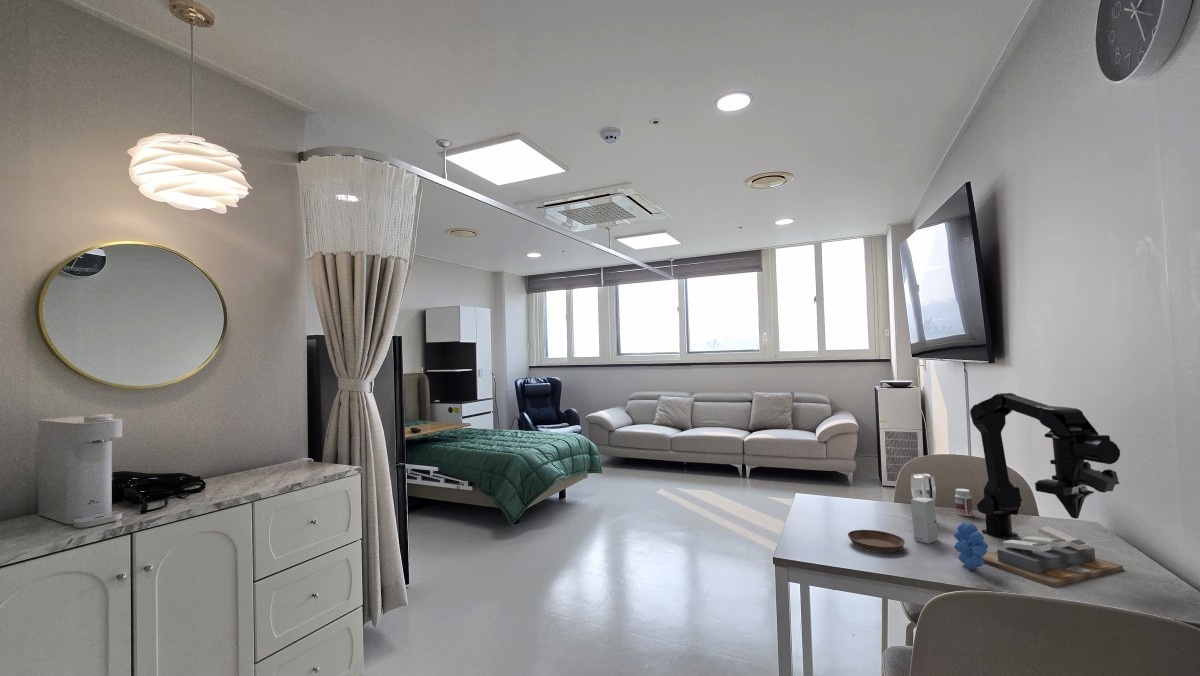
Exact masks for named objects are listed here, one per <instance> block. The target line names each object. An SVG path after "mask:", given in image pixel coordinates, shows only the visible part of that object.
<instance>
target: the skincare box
mask: <svg viewBox="0 0 1200 676" xmlns="http://www.w3.org/2000/svg"><path fill="white" fill-rule="evenodd" d="M935 505H936V504H935ZM935 505H934V499H931V498H925V497H918V498H914V499H913V498H911V499H910V507H911V509H910V510H911V520H912V530H913V540H914V541H915V542H919V543H924V544H931V543H934V542H936V541H938V539H939V536H938V527H937V524H938V523H937V517H936V516H937V515H936V507H935Z"/></svg>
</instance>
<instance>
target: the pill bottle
mask: <svg viewBox="0 0 1200 676" xmlns="http://www.w3.org/2000/svg"><path fill="white" fill-rule="evenodd" d="M954 502H955V503H954V504H955V512H956V514H957V515H959V516H962V517H963V516H964V517H971V516H972V517H973V515H974V509H973V498H972V496H971V491H970V490H969V489H966V488H955V495H954Z"/></svg>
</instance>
